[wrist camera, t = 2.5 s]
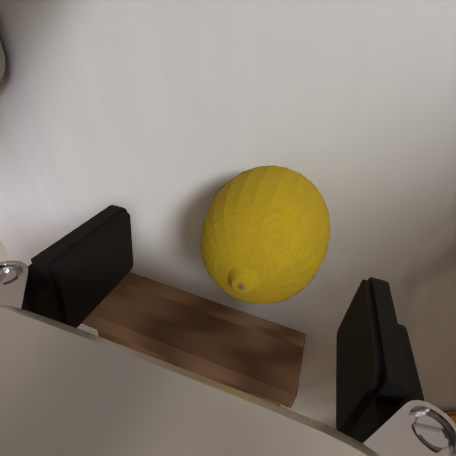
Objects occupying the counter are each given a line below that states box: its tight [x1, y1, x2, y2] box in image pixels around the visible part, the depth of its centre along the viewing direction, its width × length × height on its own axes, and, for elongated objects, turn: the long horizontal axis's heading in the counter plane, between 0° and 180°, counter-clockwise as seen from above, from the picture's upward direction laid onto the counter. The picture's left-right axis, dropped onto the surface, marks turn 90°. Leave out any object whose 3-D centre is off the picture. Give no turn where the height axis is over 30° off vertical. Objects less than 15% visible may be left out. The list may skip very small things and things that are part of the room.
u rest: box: [82, 273, 306, 408], centre depth 25 cm, size 18×12×5 cm, turn 83°
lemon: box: [200, 166, 330, 304], centre depth 14 cm, size 6×6×8 cm
